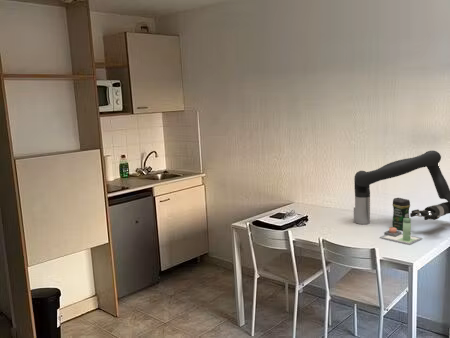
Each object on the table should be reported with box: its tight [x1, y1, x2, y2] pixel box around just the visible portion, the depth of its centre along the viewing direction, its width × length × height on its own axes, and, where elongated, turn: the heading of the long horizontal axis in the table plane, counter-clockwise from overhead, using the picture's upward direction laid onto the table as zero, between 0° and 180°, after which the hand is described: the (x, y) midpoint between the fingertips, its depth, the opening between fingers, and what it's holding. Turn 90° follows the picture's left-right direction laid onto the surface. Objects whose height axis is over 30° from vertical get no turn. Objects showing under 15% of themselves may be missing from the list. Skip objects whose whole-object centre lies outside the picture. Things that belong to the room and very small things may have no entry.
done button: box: [388, 226, 398, 233], centre depth 256 cm, size 4×4×2 cm
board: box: [379, 230, 423, 246], centre depth 250 cm, size 18×14×2 cm
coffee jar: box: [391, 197, 411, 231], centre depth 268 cm, size 10×8×19 cm
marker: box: [402, 217, 412, 241], centre depth 245 cm, size 4×4×12 cm
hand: (417, 216), depth 250 cm, fingers open, 8 cm apart
